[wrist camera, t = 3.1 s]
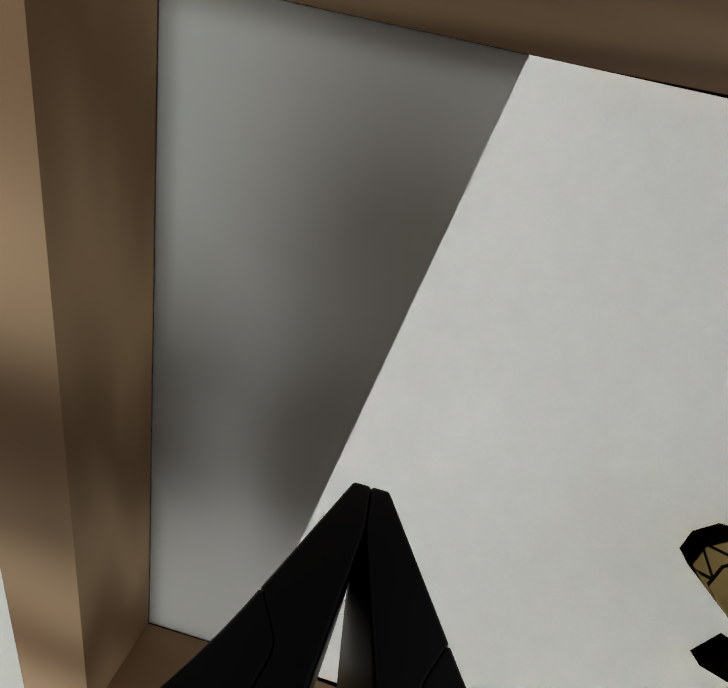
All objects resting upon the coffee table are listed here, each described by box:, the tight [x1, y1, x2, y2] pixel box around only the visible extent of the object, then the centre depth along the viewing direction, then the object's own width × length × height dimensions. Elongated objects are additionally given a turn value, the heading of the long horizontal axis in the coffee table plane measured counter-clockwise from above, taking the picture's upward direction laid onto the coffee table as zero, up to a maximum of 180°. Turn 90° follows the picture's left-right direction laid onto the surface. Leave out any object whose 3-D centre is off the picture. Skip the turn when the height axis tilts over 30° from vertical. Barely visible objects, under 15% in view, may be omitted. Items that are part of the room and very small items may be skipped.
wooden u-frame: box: [0, 0, 728, 688], centre depth 8 cm, size 22×25×2 cm
